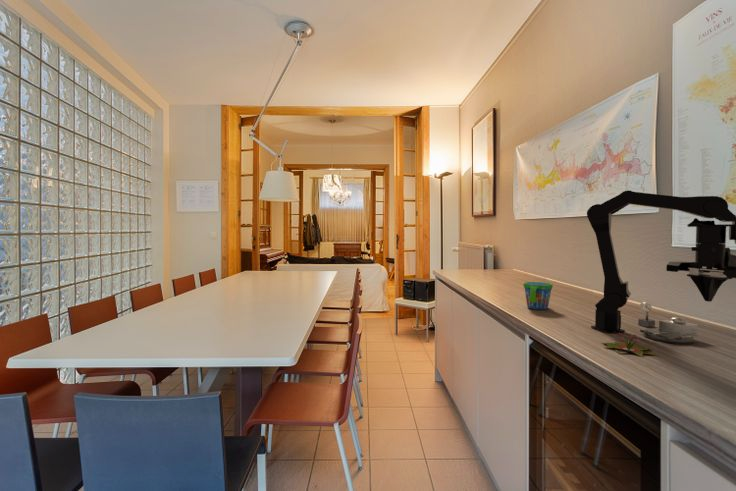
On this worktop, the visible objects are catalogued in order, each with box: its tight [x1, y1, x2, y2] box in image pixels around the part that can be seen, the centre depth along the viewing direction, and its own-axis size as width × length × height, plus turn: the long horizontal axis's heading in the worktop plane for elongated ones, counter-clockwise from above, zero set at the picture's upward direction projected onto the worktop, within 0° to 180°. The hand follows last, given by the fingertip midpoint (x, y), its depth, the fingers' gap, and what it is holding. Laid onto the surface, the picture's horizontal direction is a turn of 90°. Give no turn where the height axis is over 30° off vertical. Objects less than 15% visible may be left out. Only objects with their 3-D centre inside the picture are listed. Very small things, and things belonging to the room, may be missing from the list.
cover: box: [658, 316, 699, 335], centre depth 100 cm, size 6×6×4 cm
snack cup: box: [523, 281, 554, 311], centre depth 139 cm, size 16×10×10 cm
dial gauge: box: [637, 301, 656, 328], centre depth 113 cm, size 3×3×8 cm
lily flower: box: [603, 331, 659, 358], centre depth 90 cm, size 12×12×5 cm
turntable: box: [639, 327, 697, 345], centre depth 100 cm, size 11×11×2 cm
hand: (708, 301), depth 93 cm, fingers closed
